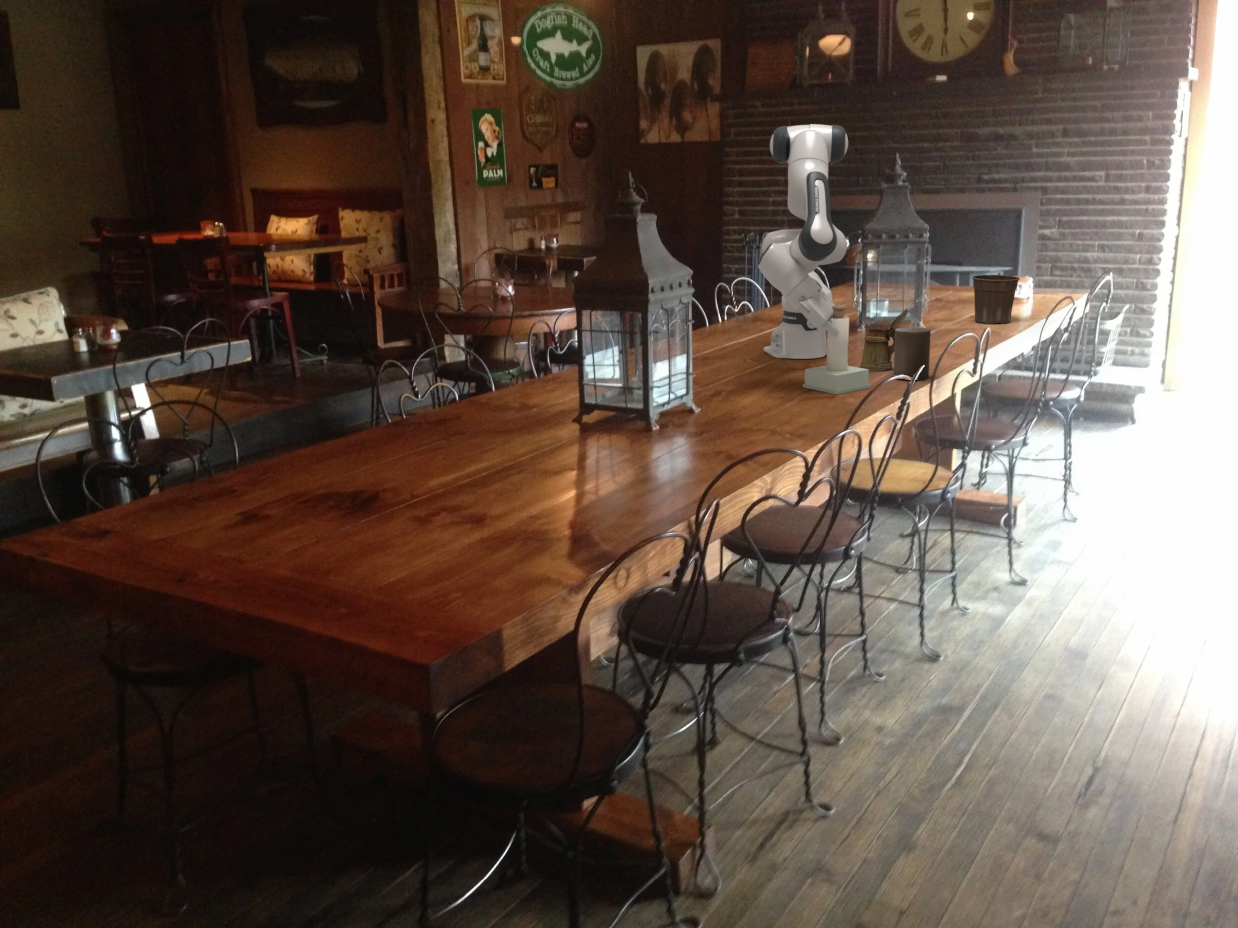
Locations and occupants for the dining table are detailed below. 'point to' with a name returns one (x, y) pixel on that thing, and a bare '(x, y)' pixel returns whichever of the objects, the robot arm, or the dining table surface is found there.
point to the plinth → (836, 379)
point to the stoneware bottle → (838, 341)
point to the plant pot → (994, 298)
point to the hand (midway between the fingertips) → (840, 332)
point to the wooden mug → (880, 346)
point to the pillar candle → (912, 351)
